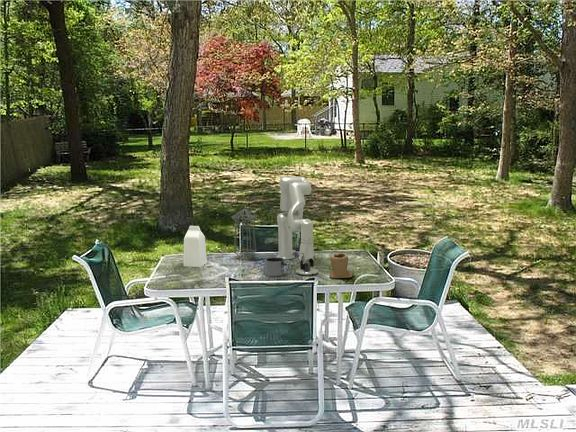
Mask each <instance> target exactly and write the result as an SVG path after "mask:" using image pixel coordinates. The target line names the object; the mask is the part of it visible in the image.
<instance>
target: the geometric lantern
mask: <svg viewBox="0 0 576 432" xmlns="http://www.w3.org/2000/svg"><path fill="white" fill-rule="evenodd" d="M244 212H245V214H244ZM258 216H259V215H258V214H257V213H255V212H253V211H251V210H250V209H247V208H243V209H241V210H240V211H238V212H237V213H235V214H234V215H232V216H231V219H232V220H234V225H235V227H234V239H233V240H234V241H233V242H234V243H233V254H235V255H236V256H237V259H238V260H241V257H244V258H243V260H246V261H249V260H251V259H252V258H253V254H255V253H256V252H257V243H256V241H257V240H256V233H255V224H256V220H257V218H258ZM239 219H240V220H241V221H240V220H239ZM247 221H250V224H249V225H246V222H247ZM240 224H242V225H240ZM238 225H239V226H238ZM244 227H245V230H246V231H248V234H249V237H251V230H252V231H253V232H252V233H253V235H252V237H253V242H254V248H253V250H252V243H251V242H252V240H251V238H249V239H248V236H246V249H245V248H244ZM237 229H238V230H239V231H242V235H241V234H239V236H238V237H239V238H238V239H239V241H238V249H237ZM241 238H242V239H241ZM248 240H249V243H248ZM241 241H242V242H241ZM241 243H242V244H241ZM248 244H249V245H248ZM240 245H241V246H240ZM249 246H250V248H249ZM240 247H241V248H240ZM243 251H247V252H246V253H245V252H243ZM249 251H250V252H249ZM245 257H246V258H245Z"/></svg>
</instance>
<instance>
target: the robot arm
mask: <svg viewBox="0 0 576 432" xmlns="http://www.w3.org/2000/svg"><path fill="white" fill-rule="evenodd" d="M278 184H279V185H278V186H279V189H280V202H279V203H280V204H279V209H280V211H282V212H280V213H278V214H277V215H276V221H277V229H278V234H277V235H278V254H277V255H276V257H277V258H283V259H285V260H291V259H294V258H295V255H294V254H295V253H296V250H295V249H293V232H300V245H299V252H298V253H299V255H298V262H299V264H300V265H299V266H300V268H299V269H300V270H305V264H304V263H305V262H307V261H308V262H310V268H314V263H315V257H316V252H315V248H314V222H313V221H311V219H309V218H303V214H304V207H305V206H306V201H305V195H307V196H308V195H311V193H312V185H311V183H310V181H309V180H308V179H307V178H306V177H304V176H284V177H280V179H279V182H278Z"/></svg>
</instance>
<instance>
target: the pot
mask: <svg viewBox="0 0 576 432" xmlns="http://www.w3.org/2000/svg"><path fill="white" fill-rule="evenodd" d="M285 261H286V259H283V258H277V257H273V256H272V257H267V258H264V259H263V260H262V263H264V275H265V276H268V277H281V276H284V275H285V270H286V268H285V267H286V266H287V265H288V264H287V262H286V263H285Z"/></svg>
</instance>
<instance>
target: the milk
mask: <svg viewBox="0 0 576 432" xmlns="http://www.w3.org/2000/svg"><path fill="white" fill-rule="evenodd" d="M206 263H207V264H208V258H207V247H206V236H205V235H204V233H203V232H202V230H201V228H200V226H199V225H189V227H188V229H187V231H186V233H185V236H184V238H183V265H182V266H183V267H190V268H191V267H192V268H202V267H203V266H205V265H206ZM204 264H205V265H204ZM201 266H202V267H201Z"/></svg>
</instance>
